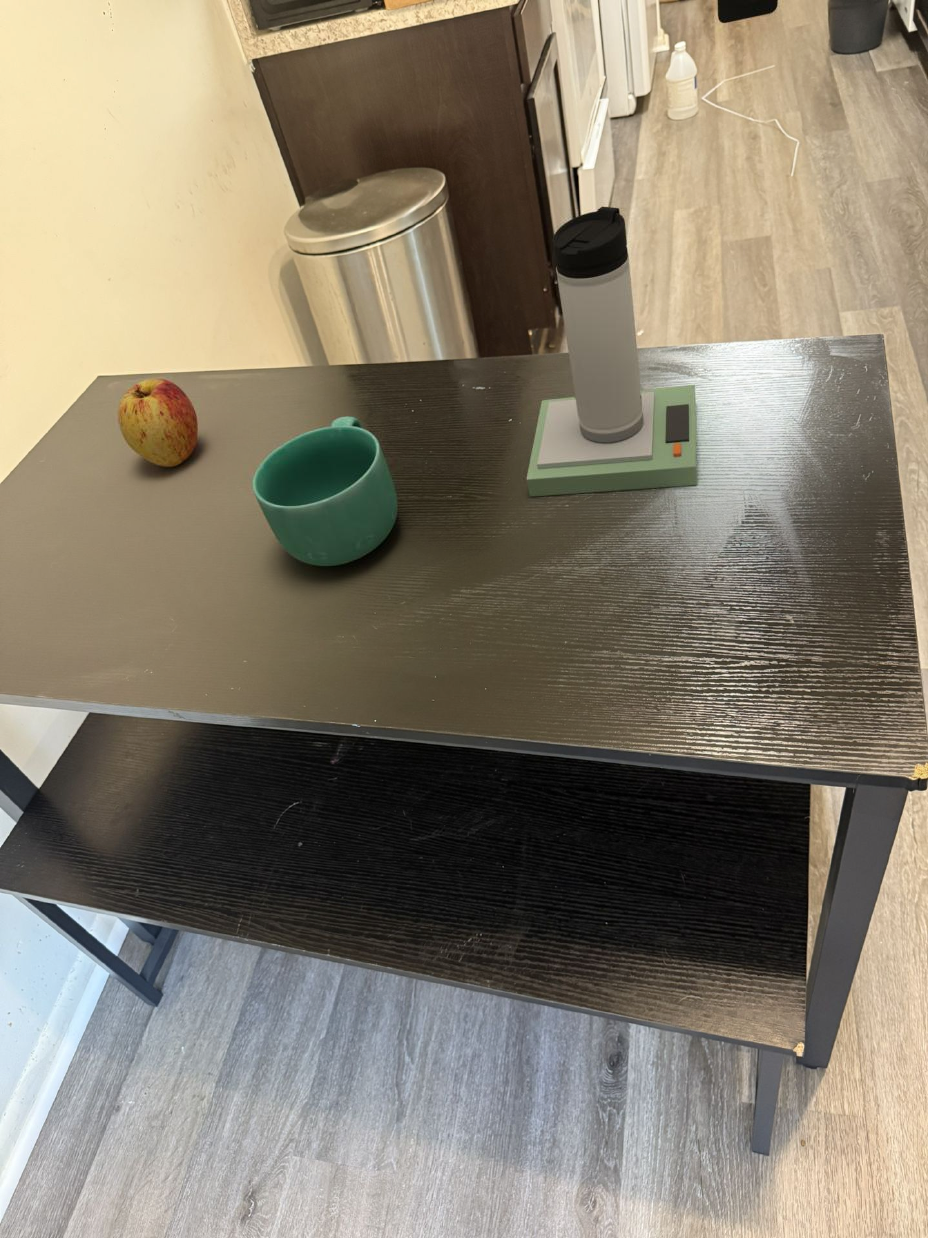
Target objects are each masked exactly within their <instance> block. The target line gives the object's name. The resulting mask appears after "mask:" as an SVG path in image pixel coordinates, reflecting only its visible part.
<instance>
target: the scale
mask: <svg viewBox="0 0 928 1238" xmlns="http://www.w3.org/2000/svg"><path fill="white" fill-rule="evenodd" d="M641 398H642V409H643V424H642V426H641V428H640V429H639V430H638V431H637V432H636V433H635V434H633V435H632V436H630V437H628V438H626V439H623V440H620V441H616V442H607V443H604V442H596V441H592V440H590V439H588V438H586V437H585V436H584V435H583V434H582V433H581V431H580V425H579V417H578V412H577V405H576V399H575V396H572V397H571V396H570V397H562V398H561V397H560V398H553V399H552V398H551V399H542V400H541V403H540V408H539V413H538V414H539V415H538V417H537V418H538V419H537V423H536V429H535V434H534V438H533V443H532V448H531V453H530V459H529V464H528V468H527V474H526V479H525V480H526V485H527V489H528V494H529V497H530V498H533V497H544V496H546V497H547V496H548V497H549V496H561V495H574V494H587V493H588V494H589V493H590V494H591V493H602V492H615V491H618V492H619V491H630V490H644V489H645V490H646V489H657V488H658V489H659V488H671V487H687V486H697V485H698V463H697V458H698V457H697V411H696V410H697V407H696V405H697V403H696V385H695V384H688V385H677V386H669V387H660V388H649V389H648V388H647V389H641Z"/></svg>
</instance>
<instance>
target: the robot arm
mask: <svg viewBox="0 0 928 1238" xmlns="http://www.w3.org/2000/svg"><path fill="white" fill-rule="evenodd" d="M778 4H779V0H717V19H718V21H719V22H720V23H722V24H727V23H733V22H737V21H738V22H739V21H741V20H746V19H752V18H756V17H760V16H765V15H766V16H767V15H770V14H773V13H774V12H775V11H776V10H777V8H778Z"/></svg>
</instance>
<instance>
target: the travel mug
mask: <svg viewBox="0 0 928 1238" xmlns="http://www.w3.org/2000/svg"><path fill="white" fill-rule="evenodd" d="M627 246H628V239H627V230H626V219H625V218H624V217H623V215H622V214H621V213H620V208H619V207H613V206H612V207H611V206H601V207H599V208H598V209H597V210H595V211H590V212H587V213H583V214H581V215H577V216H575V217H573V218H572V219H569V220H568V221H566V222H564V223H563V224H561V226H560V227H559V228H558V229H557V230H556V231H555V233H554V234H553V237H552V247H553V253H554V259H555V271H556V275H557V284H558V285H557V286H558V292H559V298H560V303H561V304H560V306H561V310H562V319H563V324H564V325H563V326H564V330H565V332H564V333H565V337H566V345H567V351H568V358H569V364H570V370H571V378H572V384H573V392H574V397H575V399H576V405H577V412H578V417H579V425H580V431H581V433H582V434H583V435H584V436H585V437H586V438H588V439H590V440H592V441H596V442H604V443H607V442H616V441H620V440H623V439H626V438H628V437H630V436H632V435H633V434H635V433H636V432H637V431H638V430H639V429H640V428H641V426H642V424H643V409H642V398H641V390H642V387H641V378H640V377H641V376H640V366H639V354H638V345H637V344H638V343H637V334H636V332H637V331H636V323H635V322H636V321H635V311H634V299H633V289H632V287H633V286H632V277H631V266H630V255H629V251H628V250H629V249H628V247H627Z"/></svg>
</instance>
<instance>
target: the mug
mask: <svg viewBox="0 0 928 1238" xmlns="http://www.w3.org/2000/svg"><path fill="white" fill-rule="evenodd" d="M330 424H331V425H330V426H326V427H322V428H321V427H320V428H317V429H314V430H313V429H312V430H310V431H307V432H305V433H302V434H300V435H298V436H296V437H294V438H291V439H290V440H287V441H286V442H285V443H283V444H281V445H280V446H278V447H277V448H275V449H274V450H273V451H272V452H271V453H269V455H268V456H266V457H265V458H264V460H263V461H262V462H261V463H260V464H259V466H258V467H257V469H256V471H255V473H254V474H253V475H254V476H253V479H252V490H253V494H254V496H255V498H256V501H257V503H258V505H259V507H260V509H261V511H262V514H263V515H264V517H265V520H266V521H267V523H268V525H269V528H270V530H272V533H273V535H274V536H275V538H276V540H277V541H278V543H279V544H280V545H281V546H282V548H283V549H284V551H286V553H288V554H289V555H290V556H291V557H293V558H294V559H296V560H298V561H300V562H302V563H305V564H308V565H311V566H318V567H331V566H332V567H334V566H339V565H343V564H347V563H351V562H354V561H355V560H359V559H361V558H362V557H365V556H366V555H368V554H369V553H371V552H372V551H374V550H375V549H376V548H378V546H380V545H381V544H382V543H383V542H384V540H386V538H387V537H388V535H389V534H390V532H391V531H392V529H393V527H394V525H395V523H396V520H397V515H398V509H399V508H398V505H399V504H398V503H399V502H398V496H397V495H398V494H397V491H396V488H395V484H394V480H393V477H392V475H391V472H390V469H389V466H388V463H387V460H386V458H385V455H384V453H383V450H382V448H381V444H380V443H379V441H378V438H377V437H376V436H375V435H374V434H373V433H372V432H370V431H368V430H367V429H364V428H363V425H362V423H361V422H360V420H359V419H357V418H356V417H354V416H341V417H337V418H336V419H334V420H333V421H332V422H331V423H330Z"/></svg>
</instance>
